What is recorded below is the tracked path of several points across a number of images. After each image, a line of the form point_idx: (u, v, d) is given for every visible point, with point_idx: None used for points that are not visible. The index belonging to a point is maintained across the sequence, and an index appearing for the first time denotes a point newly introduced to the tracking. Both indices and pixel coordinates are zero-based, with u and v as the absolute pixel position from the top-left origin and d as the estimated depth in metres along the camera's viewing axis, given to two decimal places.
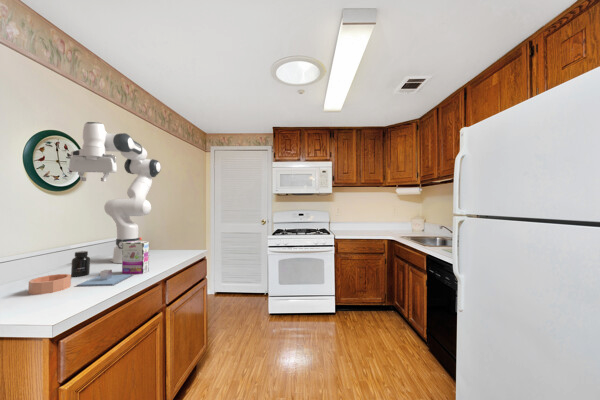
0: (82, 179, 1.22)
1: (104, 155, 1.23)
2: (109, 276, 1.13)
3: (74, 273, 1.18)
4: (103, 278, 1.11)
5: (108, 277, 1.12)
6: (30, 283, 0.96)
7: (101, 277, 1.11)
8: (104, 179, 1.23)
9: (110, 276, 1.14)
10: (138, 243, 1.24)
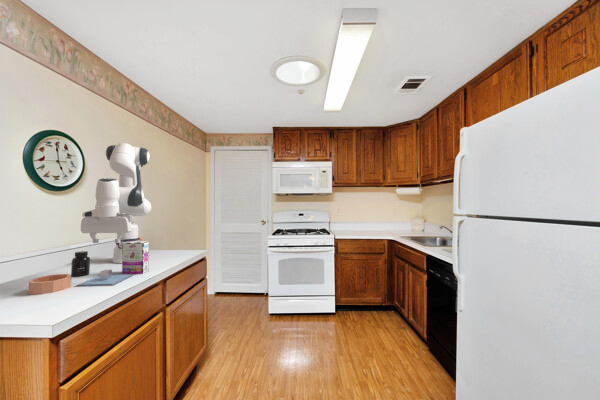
0: (94, 241, 1.12)
1: (118, 214, 1.14)
2: (109, 276, 1.13)
3: (74, 273, 1.18)
4: (103, 278, 1.11)
5: (108, 277, 1.12)
6: (30, 283, 0.96)
7: (101, 277, 1.11)
8: (118, 240, 1.13)
9: (110, 276, 1.14)
10: (138, 243, 1.24)
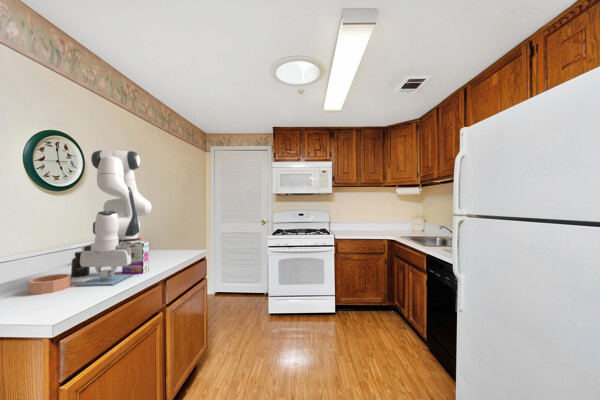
0: None
1: (118, 247, 1.13)
2: (109, 276, 1.13)
3: (74, 273, 1.18)
4: (103, 278, 1.11)
5: (108, 277, 1.12)
6: (30, 283, 0.96)
7: (101, 277, 1.11)
8: (112, 274, 1.13)
9: (110, 276, 1.14)
10: (138, 243, 1.24)
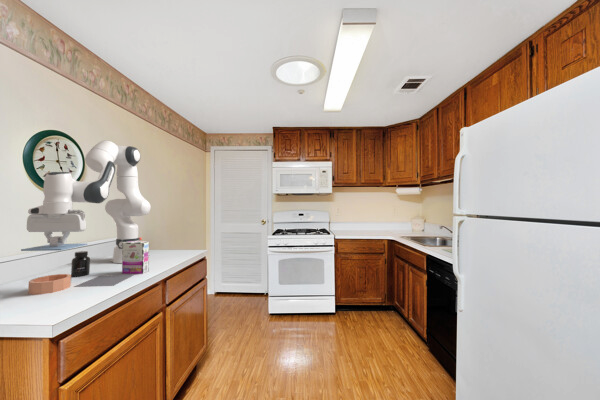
0: (49, 241, 1.01)
1: (70, 211, 1.03)
2: (60, 243, 1.02)
3: (74, 273, 1.18)
4: (53, 244, 1.01)
5: (59, 244, 1.02)
6: (30, 283, 0.96)
7: (50, 243, 1.01)
8: (63, 240, 1.02)
9: (61, 243, 1.03)
10: (138, 243, 1.24)
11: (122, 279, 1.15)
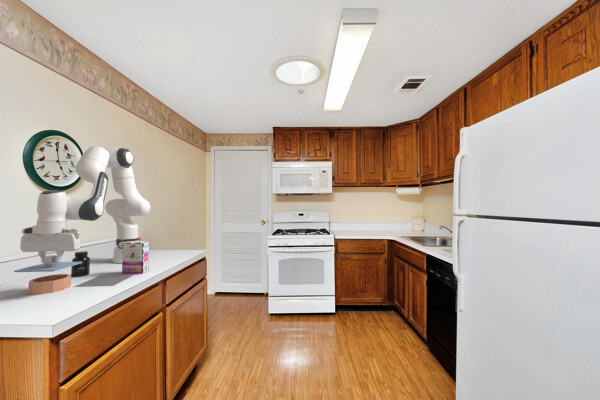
0: (43, 261, 1.00)
1: (64, 230, 1.02)
2: (54, 262, 1.01)
3: (74, 273, 1.18)
4: (47, 264, 1.00)
5: (53, 263, 1.01)
6: (30, 283, 0.96)
7: (44, 263, 1.00)
8: (57, 260, 1.01)
9: (56, 262, 1.02)
10: (138, 243, 1.24)
11: (122, 279, 1.15)
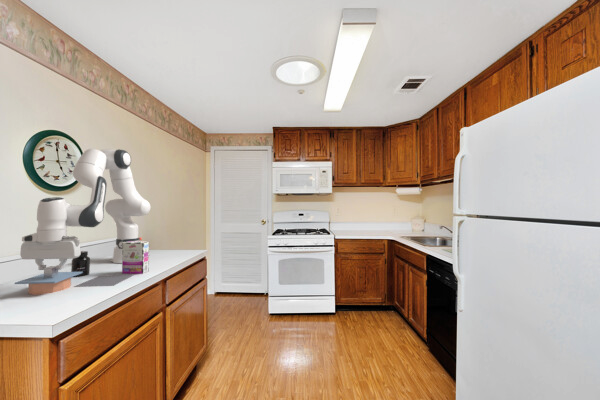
0: (41, 268, 1.00)
1: (64, 238, 1.02)
2: (54, 273, 1.02)
3: None
4: (47, 275, 1.00)
5: (53, 274, 1.01)
6: None
7: (45, 274, 1.00)
8: (61, 267, 1.02)
9: (56, 273, 1.02)
10: (138, 243, 1.24)
11: (122, 279, 1.15)
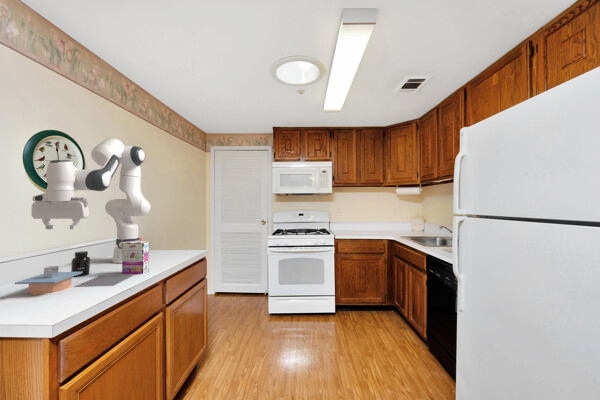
0: (48, 227, 1.04)
1: (73, 199, 1.05)
2: (54, 273, 1.02)
3: None
4: (47, 275, 1.00)
5: (53, 274, 1.01)
6: None
7: (45, 274, 1.00)
8: (74, 227, 1.05)
9: (56, 273, 1.02)
10: (138, 243, 1.24)
11: (122, 279, 1.15)
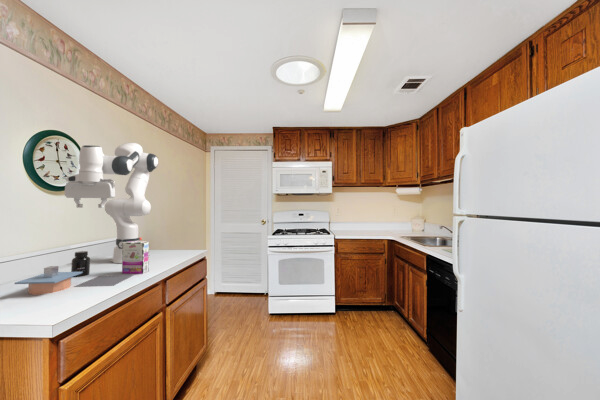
0: (78, 206, 1.15)
1: (102, 180, 1.17)
2: (54, 273, 1.02)
3: None
4: (47, 275, 1.00)
5: (53, 274, 1.01)
6: None
7: (45, 274, 1.00)
8: (102, 205, 1.17)
9: (56, 273, 1.02)
10: (138, 243, 1.24)
11: (122, 279, 1.15)
